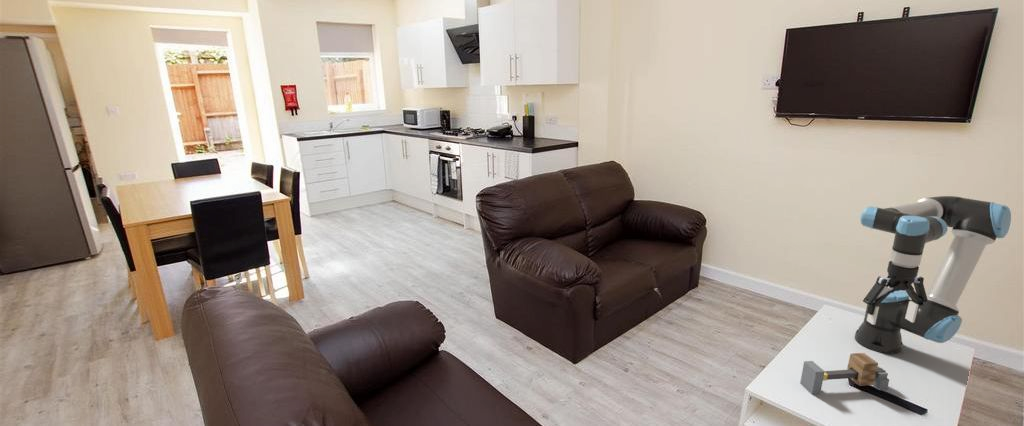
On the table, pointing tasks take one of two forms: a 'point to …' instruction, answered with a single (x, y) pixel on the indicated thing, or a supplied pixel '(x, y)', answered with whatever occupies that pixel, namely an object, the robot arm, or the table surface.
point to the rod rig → (835, 377)
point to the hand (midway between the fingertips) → (890, 321)
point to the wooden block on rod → (863, 368)
